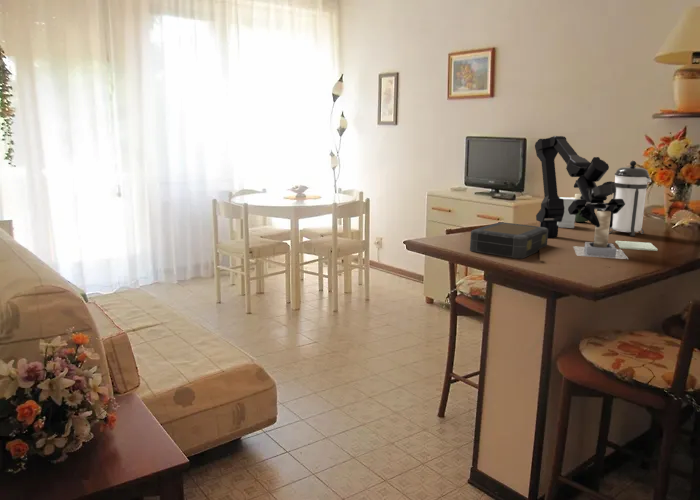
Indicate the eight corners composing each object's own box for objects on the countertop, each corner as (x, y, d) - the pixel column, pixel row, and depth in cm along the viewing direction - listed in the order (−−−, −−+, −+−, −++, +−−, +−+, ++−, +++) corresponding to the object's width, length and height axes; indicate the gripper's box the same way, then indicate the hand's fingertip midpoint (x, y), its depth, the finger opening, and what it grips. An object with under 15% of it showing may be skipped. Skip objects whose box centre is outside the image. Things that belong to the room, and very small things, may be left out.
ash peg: (594, 246, 198) (597, 212, 195) (592, 244, 202) (596, 210, 199) (608, 247, 197) (611, 212, 194) (606, 245, 201) (610, 211, 198)
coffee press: (635, 230, 249) (644, 159, 242) (650, 237, 233) (660, 162, 227) (594, 229, 251) (601, 159, 244) (606, 236, 235) (614, 161, 229)
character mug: (595, 222, 267) (598, 194, 265) (589, 224, 262) (592, 195, 259) (572, 219, 274) (574, 192, 272) (565, 221, 269) (568, 193, 267)
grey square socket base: (576, 258, 195) (577, 248, 194) (572, 248, 210) (573, 239, 209) (628, 262, 190) (629, 251, 189) (620, 252, 205) (622, 242, 204)
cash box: (496, 241, 224) (497, 221, 222) (548, 248, 211) (550, 227, 210) (466, 251, 204) (467, 229, 203) (521, 260, 192) (523, 237, 190)
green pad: (620, 251, 207) (620, 246, 207) (615, 244, 218) (615, 240, 218) (657, 253, 204) (657, 249, 203) (650, 246, 215) (650, 242, 215)
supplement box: (574, 228, 252) (577, 199, 249) (556, 227, 254) (559, 198, 251) (571, 225, 259) (574, 197, 257) (554, 224, 261) (556, 196, 258)
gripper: (576, 175, 196) (592, 213, 188) (624, 175, 200) (642, 212, 191) (561, 195, 205) (575, 232, 197) (608, 195, 209) (624, 231, 201)
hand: (605, 226), depth 196 cm, fingers closed on ash peg, 4 cm apart
